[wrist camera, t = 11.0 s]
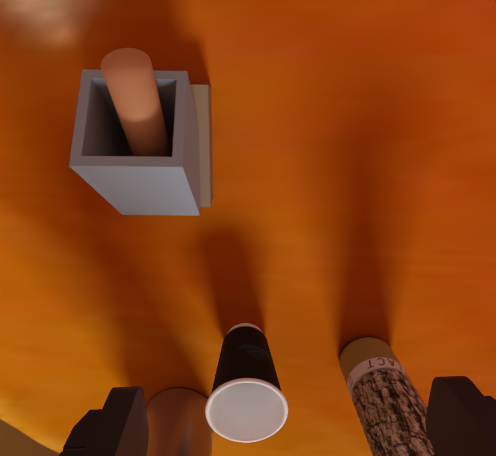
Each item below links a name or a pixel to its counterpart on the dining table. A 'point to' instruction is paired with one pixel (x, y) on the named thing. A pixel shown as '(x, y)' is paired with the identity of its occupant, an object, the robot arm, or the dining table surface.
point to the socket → (146, 168)
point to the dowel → (136, 101)
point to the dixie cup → (246, 388)
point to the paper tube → (385, 400)
